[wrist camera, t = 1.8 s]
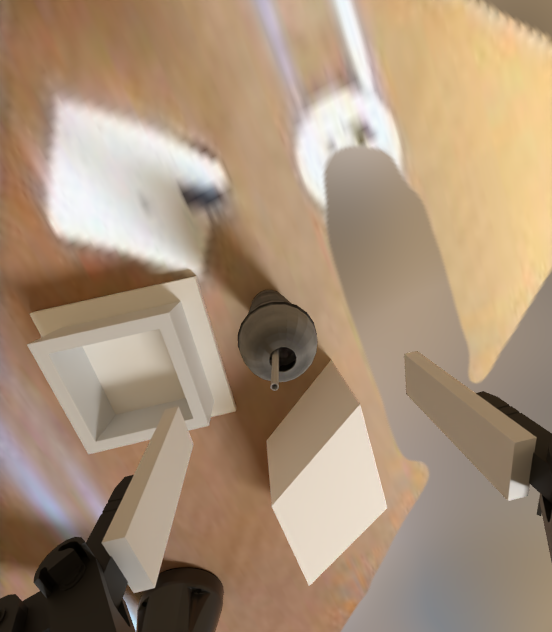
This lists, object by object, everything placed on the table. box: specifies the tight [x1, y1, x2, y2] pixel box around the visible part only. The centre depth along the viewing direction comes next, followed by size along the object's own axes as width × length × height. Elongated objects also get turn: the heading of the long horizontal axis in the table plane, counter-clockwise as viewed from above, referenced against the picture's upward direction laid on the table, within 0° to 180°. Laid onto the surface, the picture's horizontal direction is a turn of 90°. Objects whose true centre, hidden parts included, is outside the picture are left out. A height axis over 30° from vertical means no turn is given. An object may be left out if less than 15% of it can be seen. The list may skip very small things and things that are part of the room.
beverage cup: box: [238, 290, 317, 391], centre depth 25 cm, size 7×7×20 cm
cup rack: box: [27, 276, 236, 454], centre depth 33 cm, size 20×20×6 cm
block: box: [266, 360, 387, 586], centre depth 38 cm, size 15×30×11 cm, turn 172°
